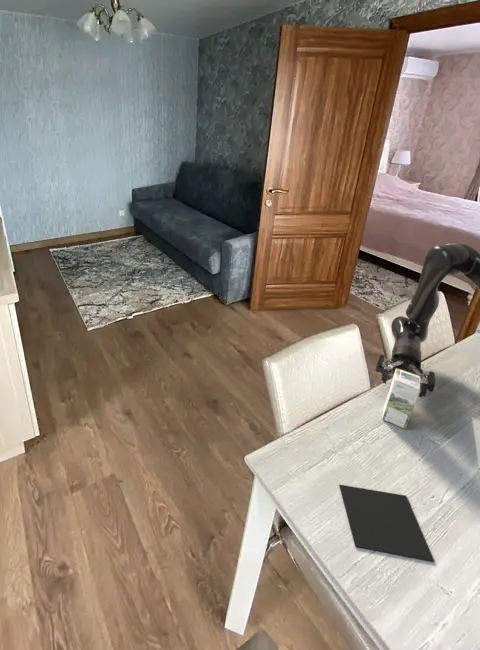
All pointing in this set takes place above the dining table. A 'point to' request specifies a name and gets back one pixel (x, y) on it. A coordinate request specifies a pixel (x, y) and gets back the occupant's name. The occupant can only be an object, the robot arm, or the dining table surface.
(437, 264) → the robot arm
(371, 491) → the plate
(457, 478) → the dining table surface
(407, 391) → the syrup box
